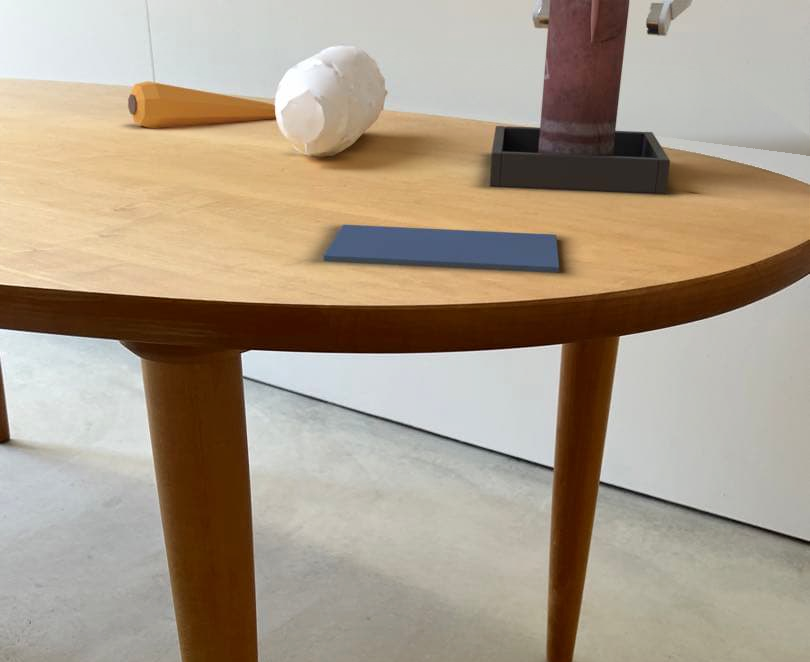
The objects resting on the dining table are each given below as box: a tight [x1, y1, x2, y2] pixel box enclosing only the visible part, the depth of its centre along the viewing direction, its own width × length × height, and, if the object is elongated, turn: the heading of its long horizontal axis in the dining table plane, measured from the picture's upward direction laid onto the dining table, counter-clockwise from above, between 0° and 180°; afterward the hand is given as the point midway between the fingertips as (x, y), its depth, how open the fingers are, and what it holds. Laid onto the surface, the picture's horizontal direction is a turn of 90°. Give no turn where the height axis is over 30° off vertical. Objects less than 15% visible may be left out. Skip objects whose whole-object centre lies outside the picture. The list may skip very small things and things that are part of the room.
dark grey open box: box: [489, 125, 671, 196], centre depth 91 cm, size 14×14×3 cm
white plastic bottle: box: [274, 44, 389, 158], centre depth 97 cm, size 8×19×8 cm, turn 172°
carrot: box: [127, 80, 276, 129], centre depth 112 cm, size 20×4×4 cm, turn 124°
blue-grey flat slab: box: [322, 224, 560, 274], centre depth 69 cm, size 14×8×1 cm, turn 84°
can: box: [538, 0, 630, 156], centre depth 89 cm, size 6×6×14 cm
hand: (597, 26), depth 89 cm, fingers open, 8 cm apart
